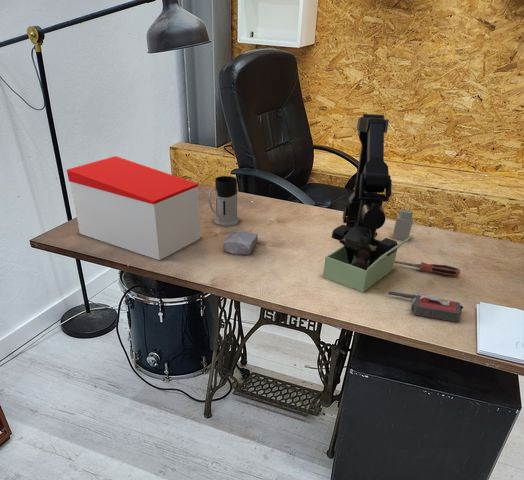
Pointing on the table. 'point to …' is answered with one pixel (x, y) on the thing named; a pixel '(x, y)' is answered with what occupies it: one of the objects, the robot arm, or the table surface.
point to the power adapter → (403, 224)
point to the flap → (390, 251)
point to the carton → (355, 270)
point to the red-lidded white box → (135, 206)
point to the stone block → (240, 242)
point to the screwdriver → (434, 268)
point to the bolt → (362, 257)
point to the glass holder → (225, 200)
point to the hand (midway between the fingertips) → (359, 266)
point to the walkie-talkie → (433, 306)
